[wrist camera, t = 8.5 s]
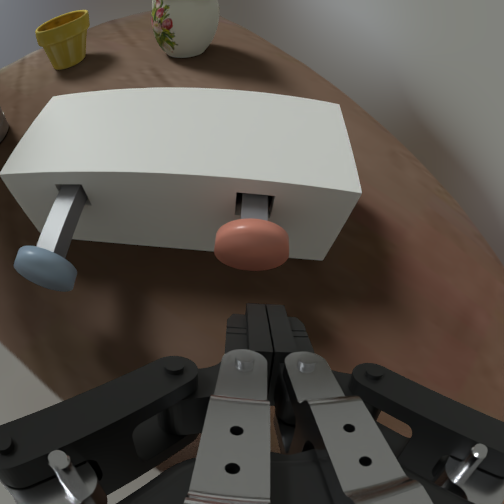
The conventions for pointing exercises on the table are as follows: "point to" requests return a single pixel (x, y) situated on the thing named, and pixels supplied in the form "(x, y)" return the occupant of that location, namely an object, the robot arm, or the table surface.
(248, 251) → the red key
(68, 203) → the blue key
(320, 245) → the key box
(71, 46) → the plant pot
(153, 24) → the pitcher
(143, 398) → the robot arm
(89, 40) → the table surface
